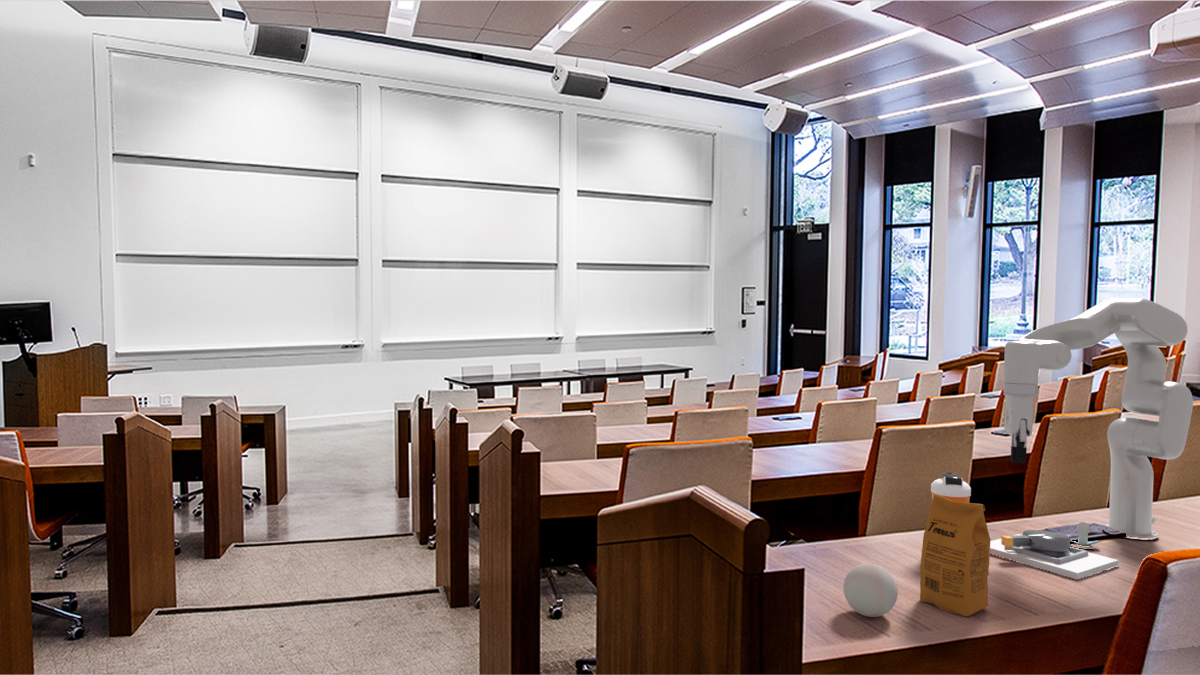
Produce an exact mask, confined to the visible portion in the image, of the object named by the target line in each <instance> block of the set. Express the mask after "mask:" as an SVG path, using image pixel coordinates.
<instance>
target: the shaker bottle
mask: <svg viewBox="0 0 1200 675" xmlns="http://www.w3.org/2000/svg"><path fill="white" fill-rule="evenodd" d="M941 475H942V476H943V477H941V478H937V479H935V480H934V481H933V482H931V484H930V492H931V500H932V501H933V497H934V495H935V494H938V495H940V496H943V497H945V498H947V499H949V500H951V501H953V502H963V503H970V497H971V496H972V494H971V493H972V488H971V486H970V485H969V483H967V482H966V481H964V480H963V477H960V476H959V474H957V473H954V472H949V471H947V472H946V471H944V472H941ZM932 501H931V502H932Z"/></svg>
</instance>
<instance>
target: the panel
mask: <svg viewBox="0 0 1200 675" xmlns="http://www.w3.org/2000/svg"><path fill="white" fill-rule="evenodd" d="M1016 535H1021V534H1019V533H1018V534H1014V535H1012V536H1016ZM1001 539H1002V537H1001V538H998V539H992V540H990V551H989V555H990V554H992V555H991V556H994V555H996V556H995V557H997V556H1000V557H999V558H1001V557H1004V558H1007V559H1011V560H1014V561H1018V562H1020V563H1019V564H1021V563H1023V564H1022V565H1024V564H1027V565H1026V566H1028V565H1030V566H1029V567H1031V566H1033V567H1032V568H1035V567H1037V568H1036V569H1038V568H1040V569H1039V570H1041V569H1044V570H1043V571H1045V570H1047V571H1046V572H1048V571H1051V572H1050V573H1052V572H1054V573H1053V574H1055V573H1057V574H1056V575H1059V574H1061V575H1060V576H1062V575H1065V576H1068V577H1067V578H1069V577H1071V578H1070V579H1072V578H1075V579H1074V580H1076V579H1080V578H1083V577H1086V576H1089V575H1091V574H1094V573H1097V572H1100V571H1103V570H1105V569H1108V568H1111V567H1114V566H1117V565H1118V566H1119V563H1120V562H1119V559H1115V558H1111V557H1108V556H1104V555H1100V554H1096V553H1092V552H1089V550H1085V549H1079V548H1074V547H1071V546H1070V555H1067V556H1064V557H1060V558H1054V557H1051V556H1047V555H1043V554H1040V553H1036V552H1032V551H1029V550H1025V549H1022V548H1023V546H1013V547H1006V546H1004V545H1002V544H1001ZM1004 558H1003V559H1004ZM1007 559H1006V560H1007ZM1011 560H1010V561H1011ZM1014 561H1013V562H1014ZM1018 562H1017V563H1018ZM1065 576H1064V577H1065ZM1089 577H1090V576H1089ZM1086 578H1087V577H1086ZM1083 579H1084V578H1083ZM1080 580H1081V579H1080Z"/></svg>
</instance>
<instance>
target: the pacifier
mask: <svg viewBox="0 0 1200 675" xmlns="http://www.w3.org/2000/svg"><path fill="white" fill-rule="evenodd" d="M1090 530H1091V528H1090V525H1089V523H1087V522H1084V521H1080V522H1079V523H1077V526H1076V531H1077V533H1078V536H1077V537H1078V542H1076V541H1072V540H1070V542H1074V543H1076V544H1078V545H1082V546H1090V547H1082V546H1077V545H1074V544H1071V545H1073V546H1076V547H1081V548H1086V549H1093V550H1095V547H1094V546H1093V545H1095V544H1099V543H1100V540H1093V541H1091V540H1090V541H1088V537H1089V536H1088V534H1089V533H1090ZM1071 535H1072V534H1071V533H1066V536H1068V537H1069V536H1071Z"/></svg>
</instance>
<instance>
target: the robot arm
mask: <svg viewBox="0 0 1200 675" xmlns="http://www.w3.org/2000/svg"><path fill="white" fill-rule="evenodd" d="M1114 334H1115V337H1116V338H1117V340H1118V341H1119V343H1121V346H1122V347H1123V349H1124V351H1125V353H1126V356H1127V366H1126V367H1127V368H1126V373H1125V379H1124V384H1123V388H1122V393H1121V405H1122V407H1123V409H1124V410H1126V411H1128V412H1130V413H1133V414H1137V415H1139V414H1140V415H1145V416H1152V417H1158V421H1157V420H1156V421H1155V420H1150V419H1143V418H1135V417H1119V418H1117V419H1115V420H1113V421H1112V422H1111V423H1110V424H1109V426H1108V428H1107V432H1106V434H1107V442H1108V446H1109V452H1110V477H1109V478H1110V479H1109V480H1110V483H1109V484H1110V485H1109V512H1108V514H1109V515H1108V523H1106V524H1104V525H1106V526H1109V527H1110V528H1112V529H1115V530H1118V531H1121V532H1124V533H1126V536H1129V537H1138V538H1153V537H1157V536H1158V537H1159V535H1158V534H1159V533H1158V532H1157V531H1155V530H1153V529H1152V526H1153V525H1154V524H1156V522H1157V521H1156V518H1155V517H1153V504H1154V502H1153V500H1154V499H1153V498H1154V495H1153V494H1154V469H1153V466H1152V463H1151V462H1150V459H1149V458H1156V459H1160V460H1175V459H1178V458H1179V457H1180V456H1181V455H1182V453H1183V452H1184V449H1185V446H1186V443H1187V439H1188V434H1189V430H1190V424H1191V418H1192V414H1193V408H1194V398H1193V394H1192V391H1191V390H1190V388H1189V387H1187V385H1185V384H1184V383H1181V382H1176V381H1167V380H1165V377H1166V376H1165V375H1166V369H1167V362H1166V358H1165V356H1164V354H1163V352H1162V351H1161V349H1160V347H1159V346H1163V347H1164V346H1165V347H1167V346H1168V347H1171V346H1172V347H1173V346H1177V345H1179V344H1181V343H1182V342H1183V341H1184V340H1185V339H1186V338H1187V335H1188V324H1187V322H1186V321H1185V319H1184V318H1183V317H1182V315H1180V314H1179V313H1177V312H1175V311H1173V310H1171V309H1169V308H1168V307H1166V306H1163V305H1161V304H1159V303H1157V302H1154V301H1152V300H1149V299H1146V298H1137V297H1136V298H1135V297H1134V298H1126V297H1125V298H1123V297H1122V298H1109V299H1108V298H1107V299H1105V300H1102V301H1100V302H1098V303H1096V304H1095V305H1093V306H1092V307H1090V308H1088V309H1086V310H1085V311H1083V312H1082V313H1079V314H1078V315H1075V316H1074V317H1072V318H1069V319H1064V320H1062V321H1058V322H1055V323H1052V324H1049V325H1046V326H1043V327H1038V328H1037V329H1035V330H1032V331H1030V332H1028V333H1026V334H1025V335H1023V336H1021V337H1020V338H1018V339H1017V340H1011V341H1008V342H1006V343H1005V346H1004V359H1003V360H1004V363H1003V364H1004V367H1003V368H1004V369H1003V396H1006V401H1005V409H1004V410H1005V413H1004V425H1003V426H1004V427H1003V429H1004V432H1006V433H1007V434H1008V435H1009V436H1010V437H1011V446H1010V461H1011V463H1012V464H1013V463H1014V464H1026V463H1027V450H1028V449H1027V448H1028V447H1027V442H1028V437H1031V436H1032V435H1033V426H1034V424H1033V422H1034V402H1033V401H1034V400H1033V399H1034V398H1037V397H1038V394H1039V393H1038V389H1039V388H1038V386H1039V370H1044V371H1059V370H1062V369H1065V368H1066V367H1067V366H1068V365H1069V364H1070V362H1071V360H1072V352H1071V351H1075V350H1080V349H1081V350H1082V349H1086V348H1091V347H1093V346H1096V345H1098V344H1099V343H1100V342H1102V341H1104V340H1105V339H1106V338H1108V337H1110V336H1112V335H1114Z"/></svg>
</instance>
